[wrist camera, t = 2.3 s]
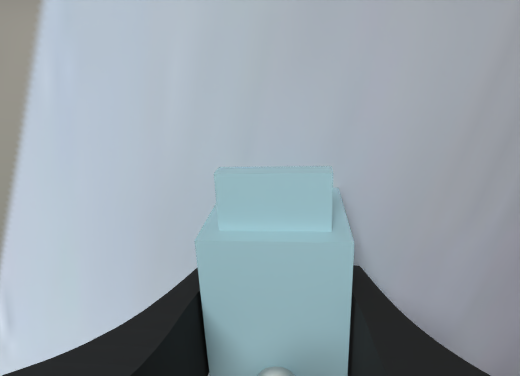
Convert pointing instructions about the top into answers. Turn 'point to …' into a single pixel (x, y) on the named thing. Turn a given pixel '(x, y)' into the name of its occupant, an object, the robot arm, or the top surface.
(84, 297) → the top surface
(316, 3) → the top surface
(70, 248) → the top surface
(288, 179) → the servo block
